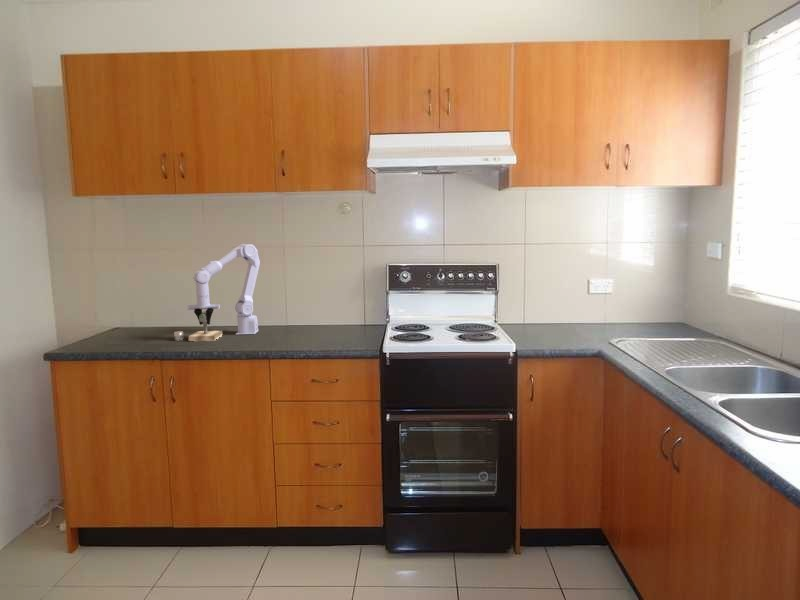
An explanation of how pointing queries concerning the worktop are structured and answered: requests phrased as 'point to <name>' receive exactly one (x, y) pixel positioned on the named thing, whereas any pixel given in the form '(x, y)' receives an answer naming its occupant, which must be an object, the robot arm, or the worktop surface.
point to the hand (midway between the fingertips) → (205, 324)
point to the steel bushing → (178, 335)
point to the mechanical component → (203, 320)
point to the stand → (205, 336)
